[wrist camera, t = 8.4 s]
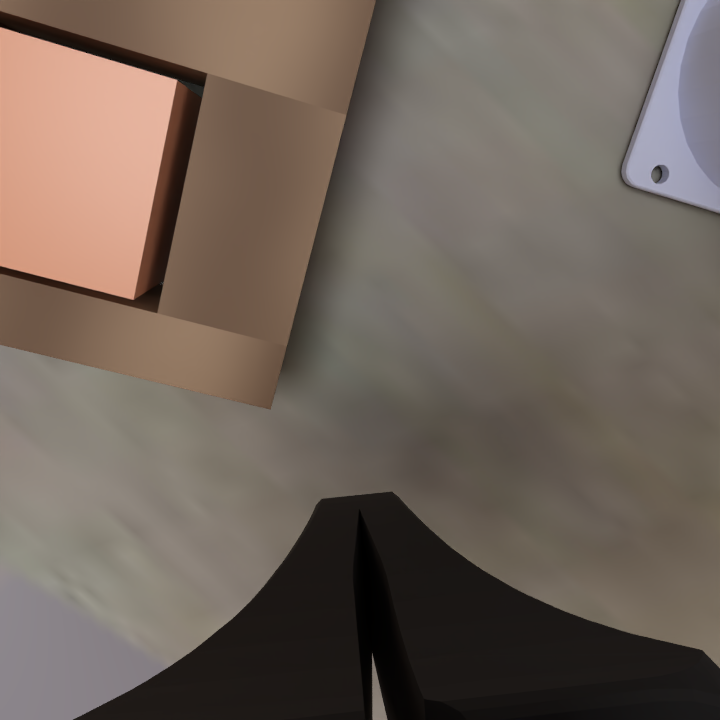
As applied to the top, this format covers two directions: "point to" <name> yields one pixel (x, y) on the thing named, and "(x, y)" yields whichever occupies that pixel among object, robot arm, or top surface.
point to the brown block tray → (209, 187)
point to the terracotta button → (89, 166)
